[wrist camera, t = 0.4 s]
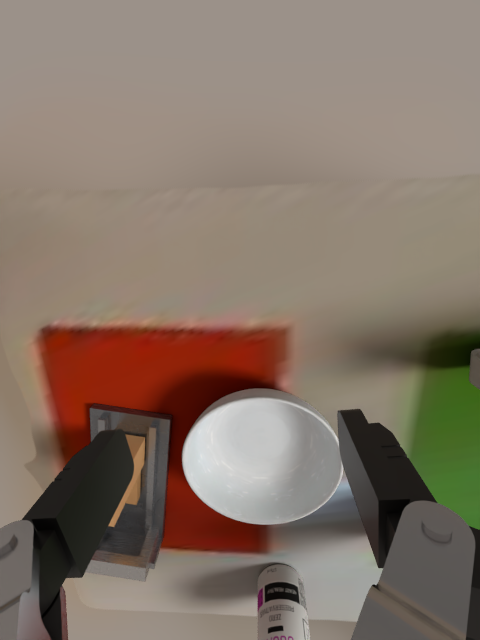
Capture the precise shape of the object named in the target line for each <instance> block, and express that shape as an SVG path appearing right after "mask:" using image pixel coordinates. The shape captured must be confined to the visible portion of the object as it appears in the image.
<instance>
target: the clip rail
mask: <svg viewBox="0 0 480 640" xmlns="http://www.w3.org/2000/svg"><path fill="white" fill-rule="evenodd" d="M90 426H91V442H92V440H93V439H94V438H95V436H96V435H97V434H98V433H99V432H100V431H103V430H115V429H122V430H123V431H124V432H125V434H127V435H133V436H140V437H145V457H144V465H143V467H142V469H141V483H140V498H139V500H138V503H137V505H133V504H127V503H125V505H124V507H123V509H122V511H121V513H120V516H119V518H118V520H117V522H116V524H115V526H114V527H112V526H108V527H107V529H106V531H105V533H104V535H103V537H102V539H101V541H100V543H99V545H98V547H97V549H96V551H95V553H94V555H93V557H92V559H91V561H90V563H89V565H88V567H87V569H86V571H85V572H88V573H94V574H101V575H107V576H113V577H120V578H126V579H132V580H139V581H146V577H147V574H148V571H149V568H151V569H154V568H155V564H156V561H157V558H158V554H159V551H160V548H161V544H162V541H163V538H164V528H165V514H166V499H167V485H168V471H169V457H170V442H171V428H172V415H169V414H162V413H156V412H149V411H142V410H136V409H129V408H122V407H116V406H109V405H102V404H96V403H94V404H93V405H92V406H91V407H90Z"/></svg>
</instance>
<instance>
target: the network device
mask: <svg viewBox="0 0 480 640" xmlns="http://www.w3.org/2000/svg"><path fill="white" fill-rule="evenodd" d="M469 381H470V383H472V384H473V385H474V386H476V387H477V388H478V389H480V349H475V350H473V351H472V352H471V359H470V373H469Z"/></svg>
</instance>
